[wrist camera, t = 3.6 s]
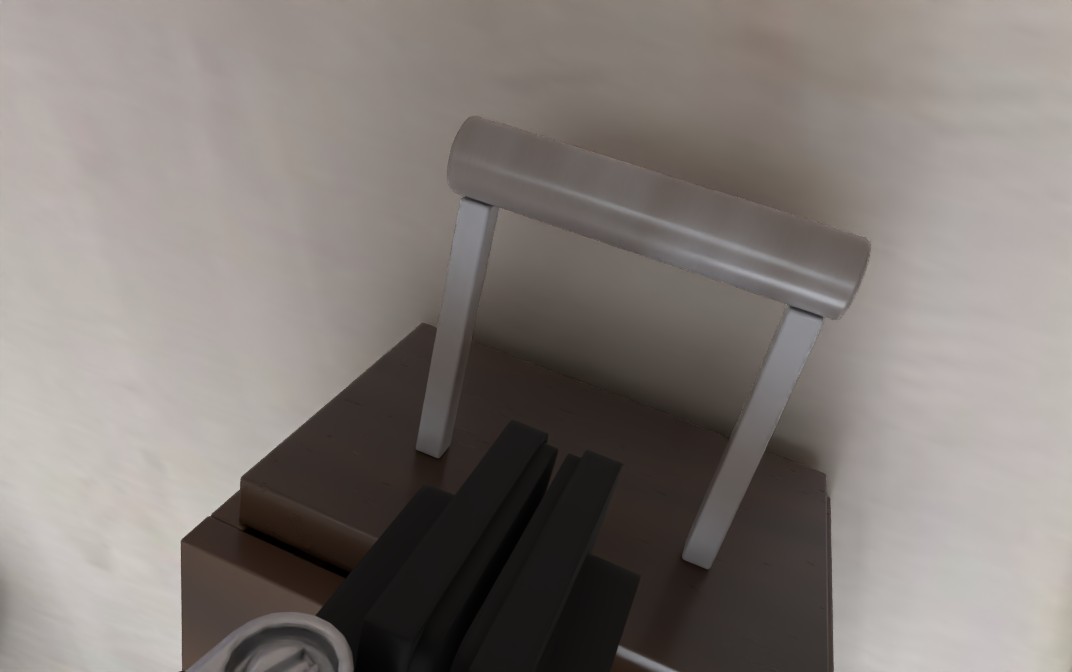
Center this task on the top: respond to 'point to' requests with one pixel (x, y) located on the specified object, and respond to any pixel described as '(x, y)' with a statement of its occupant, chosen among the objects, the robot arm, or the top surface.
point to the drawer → (598, 414)
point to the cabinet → (272, 581)
